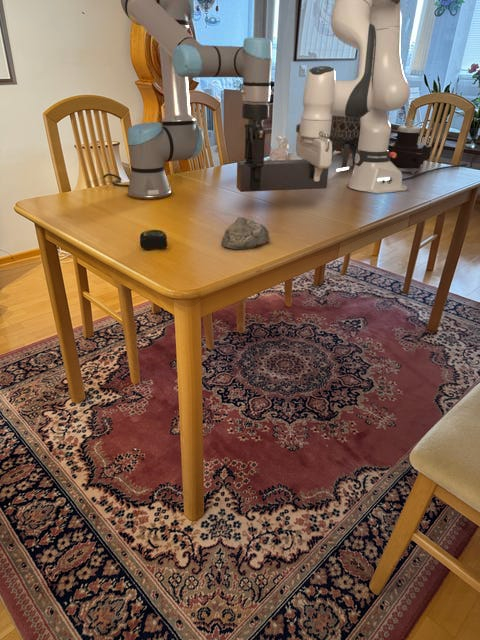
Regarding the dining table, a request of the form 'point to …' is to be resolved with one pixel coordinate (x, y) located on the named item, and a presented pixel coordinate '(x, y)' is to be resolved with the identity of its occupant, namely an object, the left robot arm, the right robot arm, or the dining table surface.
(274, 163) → the bar
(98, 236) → the dining table surface
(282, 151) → the figurine
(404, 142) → the mechanical component
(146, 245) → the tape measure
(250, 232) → the rock
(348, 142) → the planter
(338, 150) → the toy
